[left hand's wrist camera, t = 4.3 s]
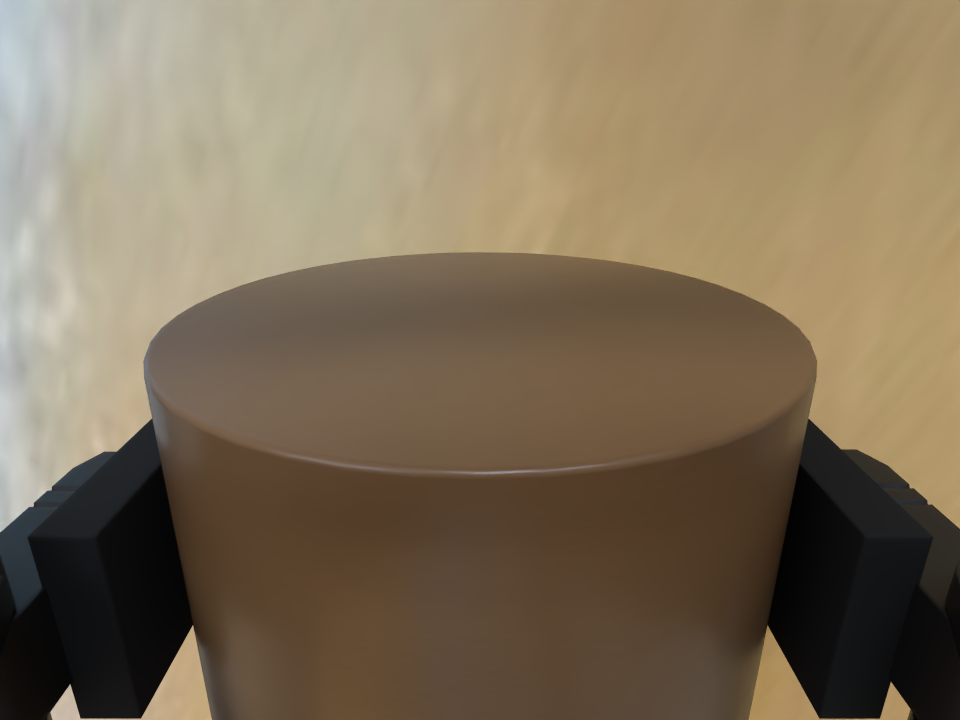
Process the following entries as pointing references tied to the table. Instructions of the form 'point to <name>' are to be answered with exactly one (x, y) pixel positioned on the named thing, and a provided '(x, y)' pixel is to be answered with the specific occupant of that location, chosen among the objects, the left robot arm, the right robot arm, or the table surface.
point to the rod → (480, 488)
